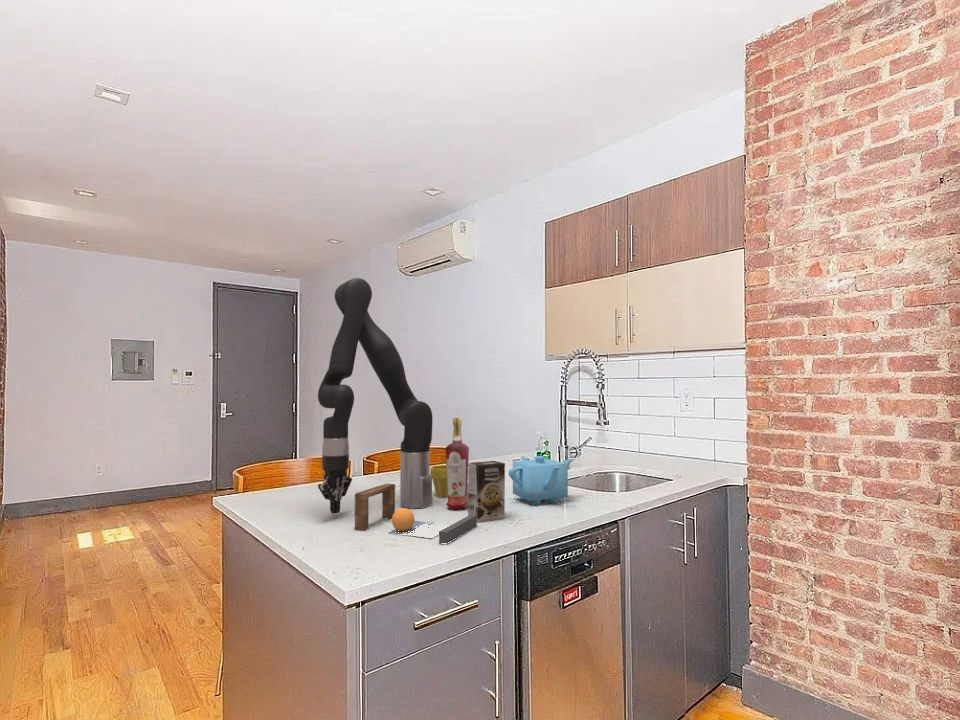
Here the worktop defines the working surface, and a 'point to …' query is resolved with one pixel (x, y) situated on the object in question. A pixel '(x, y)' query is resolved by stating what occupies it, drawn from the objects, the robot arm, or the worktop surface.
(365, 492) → the bridge
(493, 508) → the coffee box
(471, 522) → the wall
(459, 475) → the liquor
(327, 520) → the worktop surface
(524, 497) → the teakettle
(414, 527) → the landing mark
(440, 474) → the plant pot
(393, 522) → the ball
